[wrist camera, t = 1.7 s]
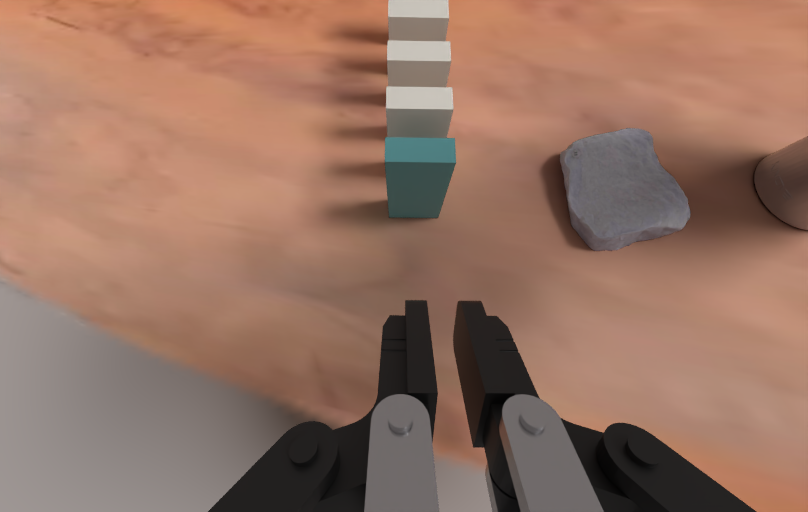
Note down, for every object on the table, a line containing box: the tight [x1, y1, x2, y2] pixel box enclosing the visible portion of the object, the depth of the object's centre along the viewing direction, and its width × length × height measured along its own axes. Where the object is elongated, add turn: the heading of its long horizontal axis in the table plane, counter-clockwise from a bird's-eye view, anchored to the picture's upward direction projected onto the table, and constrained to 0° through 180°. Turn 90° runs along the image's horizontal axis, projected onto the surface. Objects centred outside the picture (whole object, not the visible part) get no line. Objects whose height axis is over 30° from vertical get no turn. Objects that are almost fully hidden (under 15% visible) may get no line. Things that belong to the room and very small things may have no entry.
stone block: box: [560, 128, 691, 251], centre depth 31 cm, size 12×5×10 cm
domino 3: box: [386, 86, 453, 138], centre depth 28 cm, size 2×5×10 cm, turn 90°
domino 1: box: [388, 0, 449, 41], centre depth 30 cm, size 2×5×10 cm, turn 90°
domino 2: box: [387, 40, 451, 87], centre depth 29 cm, size 2×5×10 cm, turn 90°
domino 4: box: [385, 137, 456, 218], centre depth 26 cm, size 2×5×10 cm, turn 90°
